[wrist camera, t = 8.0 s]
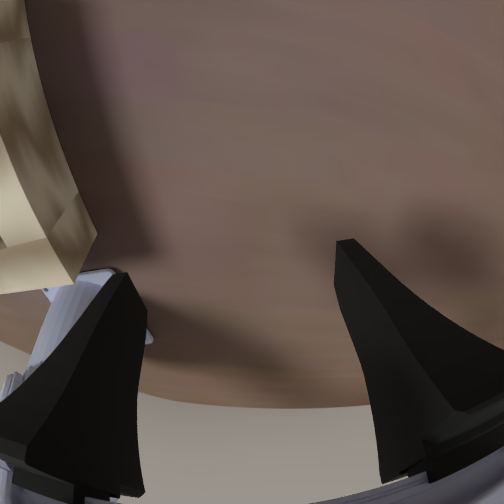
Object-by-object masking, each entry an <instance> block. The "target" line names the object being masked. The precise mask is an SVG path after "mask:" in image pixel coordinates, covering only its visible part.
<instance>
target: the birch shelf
mask: <svg viewBox="0 0 504 504" xmlns="http://www.w3.org/2000/svg"><path fill="white" fill-rule="evenodd" d="M96 236H97V231H96V229H95V227H94V225H93V223H92V221H91V219H90V216H89V214H88V212H87V210H86V207H85V205H84V203H83V200H82V198H81V196H80V193H79V191H78V189H77V186H76V184H75V181H74V179H73V176H72V174H71V171H70V169H69V166H68V164H67V161H66V158H65V156H64V153H63V150H62V147H61V145H60V142H59V139H58V136H57V133H56V130H55V127H54V124H53V121H52V118H51V115H50V112H49V108H48V105H47V102H46V98H45V95H44V91H43V88H42V84H41V80H40V76H39V72H38V68H37V64H36V60H35V56H34V51H33V47H32V42H31V37H30V32H29V26H28V21H27V14H26V8H25V1H24V0H0V294H6V293H13V292H21V291H28V290H36V289H43V288H50V287H58V286H65V285H72V284H75V281H76V279H77V277H78V274H79V272H80V270H81V268H82V266H83V263H84V261H85V259H86V257H87V255H88V253H89V251H90V248H91V246H92V244H93V242H94V240H95V238H96Z"/></svg>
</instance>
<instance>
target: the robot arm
mask: <svg viewBox="0 0 504 504" xmlns="http://www.w3.org/2000/svg"><path fill="white" fill-rule="evenodd" d="M334 287H335V291H336V295H337V299H338V303H339V306H340V310H341V313H342V315H343V318H344V321H345V323H346V326H347V328H348V331H349V334H350V336H351V339H352V342H353V344H354V347H355V350H356V352H357V355H358V358H359V360H360V363H361V367H362V370H363V373H364V377H365V382H366V386H367V390H368V395H369V400H370V405H371V410H372V415H373V421H374V427H375V434H376V440H377V450H378V459H379V471H380V477H381V482H382V484H384V483H387V482H390V481H393V480H396V479H399V478H402V477H405V476H408V477H409V478H406V479H404V480H401V481H398V482H395V483H392V484H389V485H385V486H382V487H379V488H376V489H372V490H369V491H365V492H361V493H357V494H353V495H349V496H345V497H341V498H337V499H332V500H327V501H321V502H316V503H310V504H504V350H503V349H501V348H498V347H496V346H494V345H492V344H490V343H488V342H487V341H485V340H483V339H481V338H479V337H477V336H475V335H474V334H472V333H470V332H468V331H467V330H465V329H464V328H462V327H460V326H459V325H457V324H456V323H454V322H452V321H451V320H449V319H448V318H446V317H445V316H443V315H442V314H441V313H439V312H438V311H436V310H435V309H434V308H432V307H431V306H430V305H428V304H427V303H426V302H424V301H423V300H422V299H420V298H419V297H418V296H417V295H415V294H414V293H413V292H412V291H411V290H409V289H408V288H407V287H406V286H405V285H404V284H402V283H401V282H400V281H399V280H398V279H397V278H396V277H395V276H393V275H392V274H391V273H390V272H389V271H388V270H387V269H386V268H385V267H384V266H382V265H381V264H380V263H379V262H378V261H377V260H376V259H375V258H374V257H373V256H372V255H371V254H370V253H369V252H368V251H367V250H366V249H365V248H363V247H362V246H361V245H360V244H359V243H358V242H357V241H356V240H355V239H348V240H341V241H336V260H335V275H334ZM42 291H43V292H44V293H45V295H46V296H47V298H48V299H49V300H50V302H51V306H50V308H49V310H48V313H47V315H46V317H45V320H44V322H43V325H42V327H41V330H40V333H39V335H38V338H37V341H36V343H35V346H34V349H33V352H32V354H31V357H30V360H29V363H28V366H27V369H26V371H25V373H24V375H23V376H22V375H21V374H19V373H18V372H14V374H10V375H7V377H6V379H5V382H4V385H3V388H2V391H1V394H0V504H120V503H117V500H118V499H119V498H120V495H123V496H130V497H137V498H139V497H141V496H142V495H143V494H144V493H145V489H144V485H143V479H142V473H141V467H140V460H139V459H140V458H139V450H138V437H137V435H138V434H137V394H138V385H139V379H140V372H141V365H142V359H143V353H144V347H145V344H151V343H153V337H152V335H151V334H150V332H149V331H148V329H147V309H146V307H145V305H144V303H143V301H142V300H141V298H140V296H139V294H138V292H137V290H136V288H135V286H134V284H133V283H132V281H131V279H130V277H129V275H128V273H127V272H125V273H118V274H116V273H115V272H114V271H113V270H112V269H101V270H95V271H88V272H82V273H79V274H78V277H77V279H76V281H75V284H72V285H65V286H58V287H50V288H43V289H42Z"/></svg>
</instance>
